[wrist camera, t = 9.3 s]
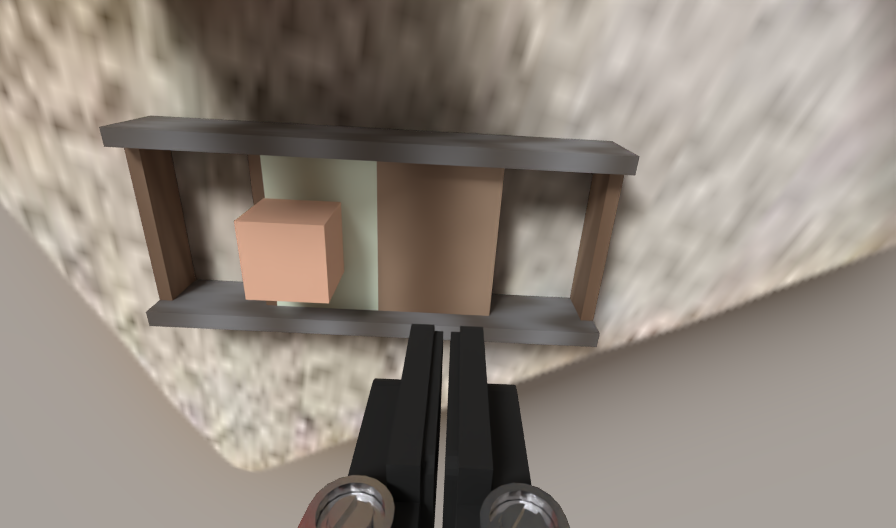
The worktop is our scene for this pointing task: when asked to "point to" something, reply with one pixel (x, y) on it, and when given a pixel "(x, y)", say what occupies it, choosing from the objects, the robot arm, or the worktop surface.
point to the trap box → (377, 226)
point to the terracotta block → (291, 250)
